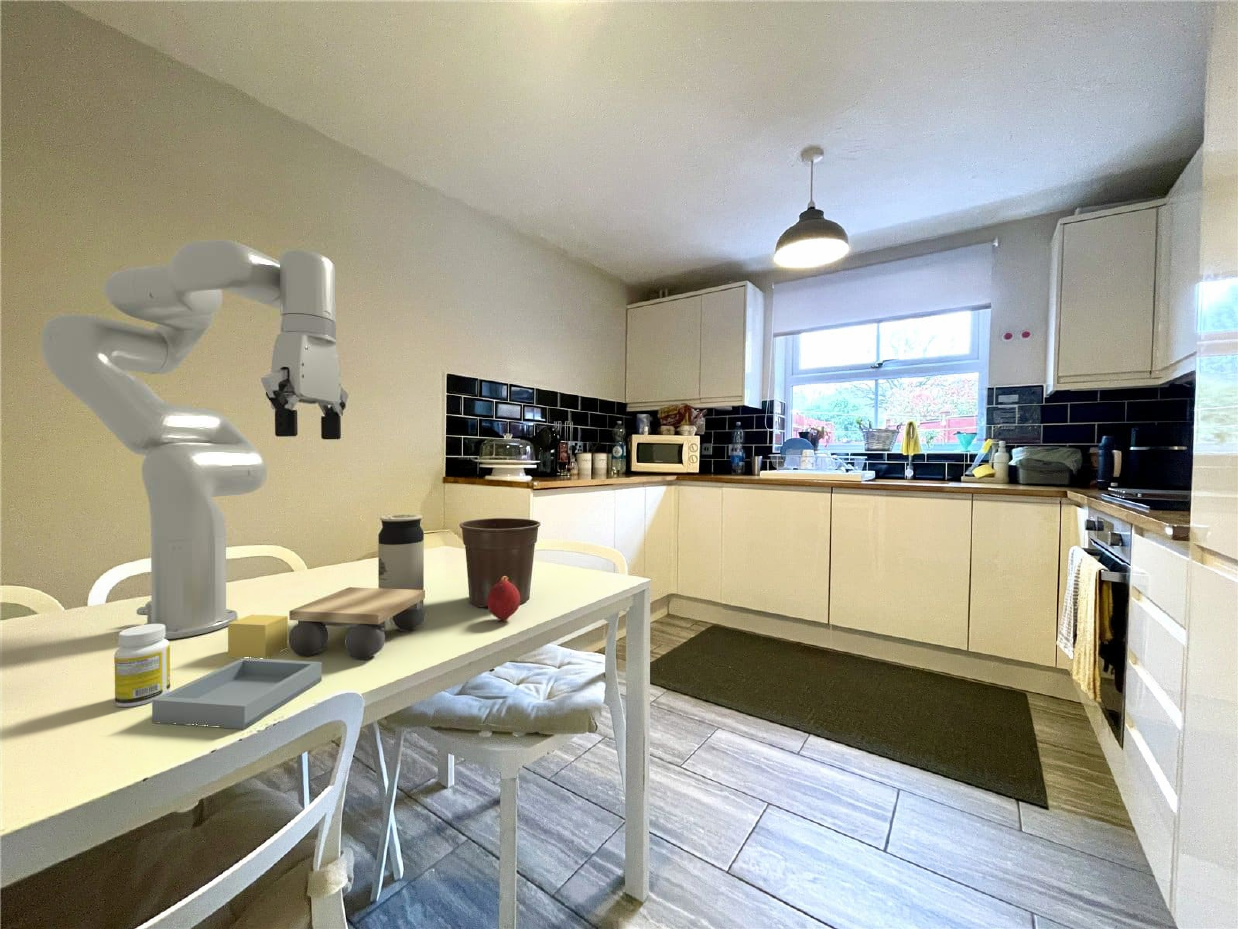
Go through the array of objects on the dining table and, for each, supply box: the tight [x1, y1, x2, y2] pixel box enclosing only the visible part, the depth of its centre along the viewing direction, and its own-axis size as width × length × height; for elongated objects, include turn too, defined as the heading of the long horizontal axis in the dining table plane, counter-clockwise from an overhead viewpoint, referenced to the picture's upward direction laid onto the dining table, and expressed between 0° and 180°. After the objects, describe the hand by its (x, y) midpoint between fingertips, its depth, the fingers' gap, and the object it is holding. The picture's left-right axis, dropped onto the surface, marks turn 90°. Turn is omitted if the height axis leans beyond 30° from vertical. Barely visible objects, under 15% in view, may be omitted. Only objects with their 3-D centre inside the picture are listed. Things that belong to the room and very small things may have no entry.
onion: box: [486, 576, 521, 622], centre depth 85 cm, size 6×6×8 cm
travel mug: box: [377, 513, 425, 606], centre depth 92 cm, size 8×8×18 cm
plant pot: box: [459, 517, 541, 609], centre depth 98 cm, size 16×16×16 cm
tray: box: [151, 658, 322, 730], centre depth 57 cm, size 11×11×2 cm
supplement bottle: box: [113, 624, 171, 708], centre depth 57 cm, size 5×5×8 cm
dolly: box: [288, 586, 427, 661], centre depth 75 cm, size 14×13×7 cm
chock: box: [227, 614, 289, 659], centre depth 71 cm, size 6×4×5 cm, turn 84°
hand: (310, 437), depth 77 cm, fingers open, 9 cm apart
